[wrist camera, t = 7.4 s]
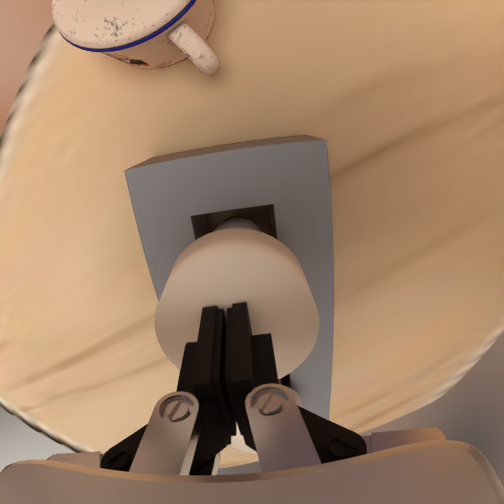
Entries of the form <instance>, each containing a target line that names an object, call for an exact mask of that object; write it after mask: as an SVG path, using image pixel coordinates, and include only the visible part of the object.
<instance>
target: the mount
mask: <svg viewBox="0 0 504 504" xmlns="http://www.w3.org/2000/svg"><path fill="white" fill-rule="evenodd" d="M124 171H125V176H126V180H127V185H128V190H129V194H130V198H131V203H132V207H133V211H134V215H135V219H136V223H137V227H138V231H139V235H140V239H141V243H142V246H143V250H144V254H145V257H146V261H147V264H148V268H149V271H150V275H151V278H152V281H153V285H154V288H155V291H156V294H157V298H158V301H159V300H160V298H161V295H162V293H163V290H164V288H165V285H166V283H167V281H168V278H169V276H170V273H171V271H172V268H173V266H174V264H175V262H176V260H177V259H178V257H179V255H180V254H181V253H182V252H183V251H184V249H185V248H187V247H188V246H189V245H190V244H191V243H192V242H194V241H195V240H197V239H198V238H200V237H202V236H204V235H206V234H209V229H208V224H207V219H206V213H213V212H220V211H226V210H233V209H241V208H248V207H255V206H263V205H268V207H269V215H270V224H271V232H272V237H274V238H275V239H277V240H279V241H280V242H282V243H283V244H284V245H285V246H286V247H288V248H289V249H290V251H291V252H292V253H293V254H294V255H295V257H296V258H297V260H298V261H299V263H300V265H301V267H302V270H303V272H304V275H305V277H306V280H307V282H308V285H309V288H310V290H311V293H312V295H313V298H314V301H315V303H316V306H317V310H318V313H319V332H318V337H317V340H316V343H315V345H314V347H313V349H312V351H311V352H310V354H309V355H308V357H307V358H306V359H305V360H304V362H303V363H302V364H300V365H299V366H298V367H297V368H296V369H295V370H293V371H292V372H291V373H289V374H288V375H286V376H284V377H282V378H281V380H282V385H284V386H287V387H290V388H291V389H293V390H295V391H296V392H297V393H298V394H299V396H300V397H301V401H302V406H303V408H304V409H306V410H308V411H310V412H312V413H314V414H316V415H318V416H320V417H323V418H325V419H327V420H329V408H330V394H331V376H332V354H333V316H334V270H333V231H332V209H331V191H330V176H329V163H328V151H327V140H325V139H321V138H316V137H312V136H307V135H301V136H290V137H281V138H271V139H263V140H255V141H247V142H240V143H233V144H226V145H219V146H213V147H207V148H201V149H195V150H190V151H184V152H179V153H174V154H169V155H164V156H159V157H154V158H150V159H148V160H146V161H144V162H141V163H139V164H137V165H135V166H133V167H131V168H128V169H126V170H124Z"/></svg>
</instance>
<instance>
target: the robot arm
mask: <svg viewBox="0 0 504 504" xmlns="http://www.w3.org/2000/svg"><path fill="white" fill-rule="evenodd" d="M236 422H237V424H236ZM237 425H238V428H239V431H240V435H243V438H244V442H245V445H247V446H248V447H250V448H251V449H253V450H254V451H256V452H257V454H258V457H259V461H260V465H261V468H262V472H261V473H249V474H235V475H217V472H218V467H219V462H220V451H222V450H223V449H224V448H225V447H226V446H227V445H229V444H231V436H236V435H237ZM0 504H504V489H503V486H502V484H501V482H500V481H499V479H498V477H497V475H496V474H495V472H494V470H493V468H492V467H491V465H490V464H489V462H488V461H487V460H486V458H485V457H484V456H483V455H482V454H481V453H480V451H478V450H477V449H476V448H475V447H473V446H472V445H470V444H467V443H463V442H458V441H446V438H445V436H444V434H443V433H442V432H441V431H440V430H438V429H436V428H433V427H423V428H416V429H408V430H399V431H388V432H378V433H371V436H360V435H358V434H357V433H355V432H353V431H351V430H349V429H346V428H344V427H342V426H340V425H338V424H335V423H333V422H331V421H329V420H327V419H325V418H323V417H320V416H318V415H316V414H314V413H312V412H310V411H308V410H306V409H304V408H302V407H300V406H298V405H297V403H296V401H295V398H294V396H293V394H292V393H291V391H290V390H289V389H288V388H286V387H285V386H282V385H280V384H279V382H278V375H277V368H276V362H275V355H274V349H273V342H272V336H271V333H267V334H259V335H252V329H251V324H250V318H249V312H248V306H247V302H242V303H234V304H232V308H227V323H226V318H225V314H224V310H223V309H218V306H210V307H203V308H202V314H201V320H200V326H199V332H198V339H197V342H187V343H186V345H185V349H184V354H183V359H182V364H181V370H180V375H179V380H178V386H177V392H173V393H169V394H167V395H165V396H163V397H162V398H161V399H160V400H159V401H158V402H157V404H156V405H155V408H154V410H153V413H152V415H151V417H150V420H149V422H148V424H147V425H145V426H144V427H142V428H141V429H139V430H138V431H136V432H135V433H133V434H132V435H130V436H129V437H127V438H126V439H124V440H123V441H121V442H120V443H118V444H116V445H115V446H113V447H112V448H110V449H109V450H108V451H107V452H105V454H102V453H101V452H100V451H98V452H85V453H67V454H55V455H52V456H50V457H49V458H48V459H47V460H26V461H19V462H16V463H12V464H10V465H8V466H6V467H5V468H4V469H3V470H2V471H1V472H0Z"/></svg>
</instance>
